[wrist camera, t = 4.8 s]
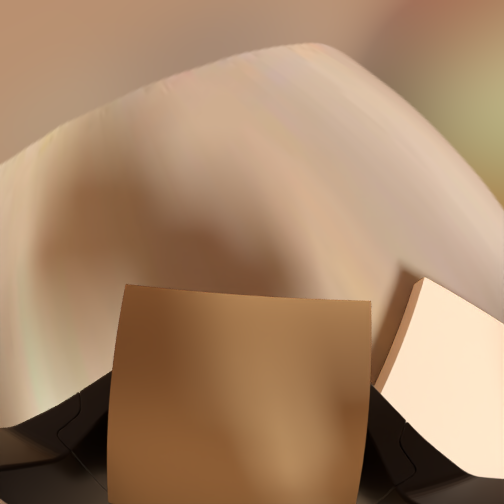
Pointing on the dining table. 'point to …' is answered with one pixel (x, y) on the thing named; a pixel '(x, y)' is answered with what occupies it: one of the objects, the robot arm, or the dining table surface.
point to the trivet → (450, 378)
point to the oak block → (237, 399)
